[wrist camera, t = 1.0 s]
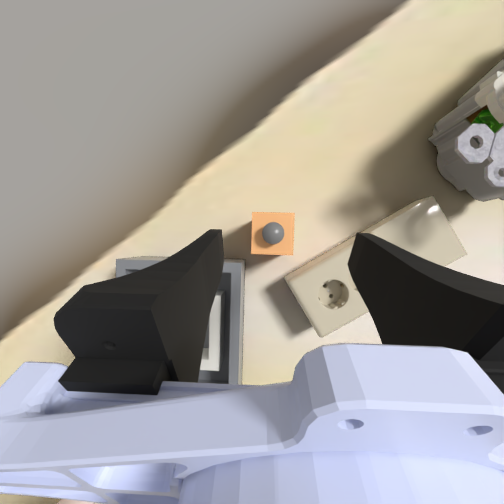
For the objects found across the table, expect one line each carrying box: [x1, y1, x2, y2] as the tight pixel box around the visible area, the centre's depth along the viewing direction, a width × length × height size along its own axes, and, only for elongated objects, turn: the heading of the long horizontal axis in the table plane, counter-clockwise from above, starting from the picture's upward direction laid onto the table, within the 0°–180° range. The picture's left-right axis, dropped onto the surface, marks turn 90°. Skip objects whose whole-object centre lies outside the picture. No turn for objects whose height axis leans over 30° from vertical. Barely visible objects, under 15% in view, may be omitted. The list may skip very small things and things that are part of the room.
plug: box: [251, 212, 295, 255], centre depth 23 cm, size 4×4×7 cm
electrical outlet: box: [284, 196, 467, 337], centre depth 24 cm, size 7×4×18 cm
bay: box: [116, 256, 245, 385], centre depth 25 cm, size 16×13×5 cm
